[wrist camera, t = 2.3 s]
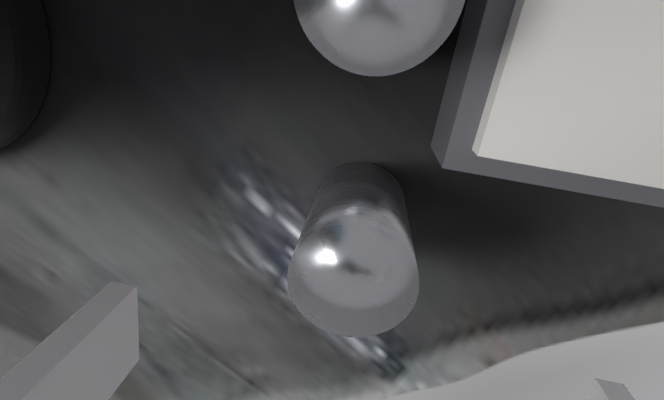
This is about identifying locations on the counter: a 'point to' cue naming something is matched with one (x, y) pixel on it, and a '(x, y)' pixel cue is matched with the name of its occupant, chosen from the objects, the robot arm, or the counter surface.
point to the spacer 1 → (377, 31)
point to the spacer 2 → (355, 254)
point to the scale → (559, 96)
